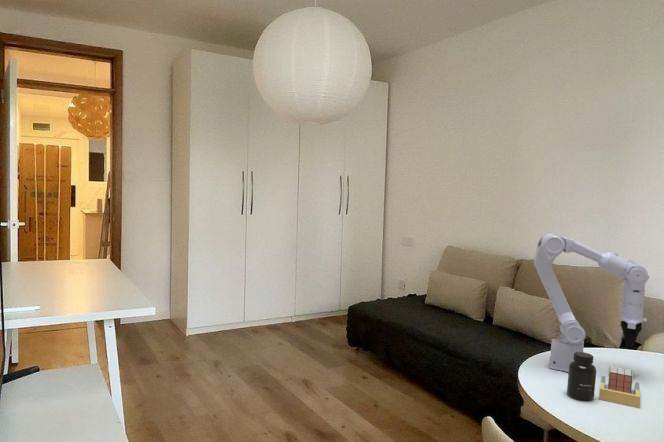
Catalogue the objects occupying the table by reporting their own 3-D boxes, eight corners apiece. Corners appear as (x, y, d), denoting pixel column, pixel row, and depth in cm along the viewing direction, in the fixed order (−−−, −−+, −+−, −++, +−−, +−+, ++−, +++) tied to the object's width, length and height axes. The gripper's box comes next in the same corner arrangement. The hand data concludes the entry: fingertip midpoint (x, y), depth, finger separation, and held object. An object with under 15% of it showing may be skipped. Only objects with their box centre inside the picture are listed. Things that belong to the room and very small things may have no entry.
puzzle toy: (630, 388, 144) (632, 369, 144) (631, 395, 139) (632, 376, 139) (608, 384, 147) (609, 365, 147) (607, 391, 142) (609, 371, 142)
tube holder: (599, 399, 136) (599, 388, 136) (601, 383, 147) (601, 373, 147) (639, 408, 131) (640, 397, 131) (638, 391, 142) (639, 381, 142)
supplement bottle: (583, 403, 133) (586, 360, 132) (561, 393, 139) (564, 352, 138) (599, 399, 136) (602, 356, 136) (577, 389, 142) (580, 349, 142)
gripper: (649, 309, 144) (645, 355, 145) (647, 300, 156) (644, 342, 158) (621, 306, 148) (617, 350, 149) (621, 297, 160) (618, 338, 161)
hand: (629, 346), depth 153 cm, fingers closed
